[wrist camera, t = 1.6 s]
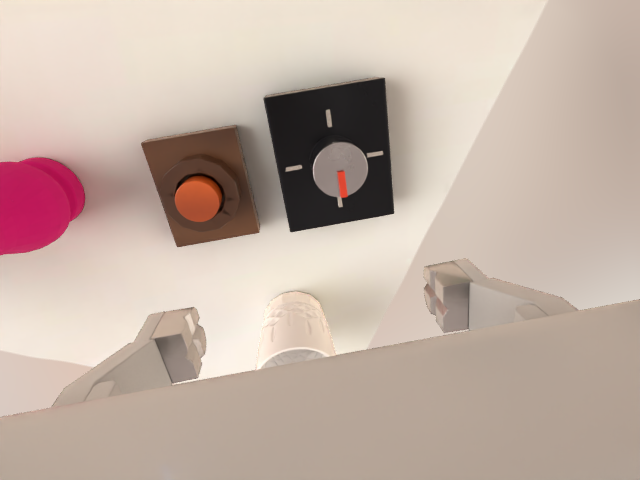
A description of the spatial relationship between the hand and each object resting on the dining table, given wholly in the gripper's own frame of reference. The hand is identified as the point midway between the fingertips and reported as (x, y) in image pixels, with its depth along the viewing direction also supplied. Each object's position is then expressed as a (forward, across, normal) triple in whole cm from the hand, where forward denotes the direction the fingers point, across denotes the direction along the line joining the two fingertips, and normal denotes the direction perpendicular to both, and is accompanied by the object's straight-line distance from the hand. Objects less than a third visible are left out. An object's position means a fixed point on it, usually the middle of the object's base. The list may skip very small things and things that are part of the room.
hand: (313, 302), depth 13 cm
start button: (+21, +8, +1) cm, 23 cm away
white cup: (+25, +3, +17) cm, 30 cm away
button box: (+24, +8, +1) cm, 26 cm away
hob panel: (+24, -4, 0) cm, 24 cm away
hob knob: (+21, -4, 0) cm, 21 cm away
